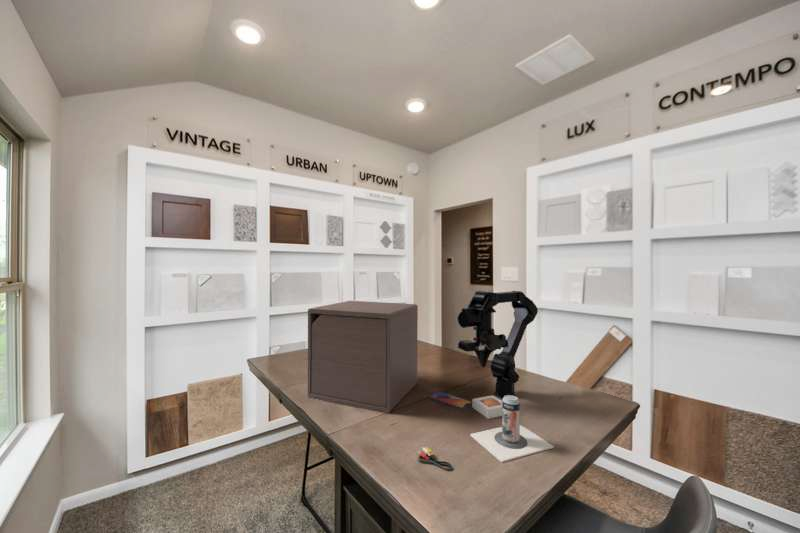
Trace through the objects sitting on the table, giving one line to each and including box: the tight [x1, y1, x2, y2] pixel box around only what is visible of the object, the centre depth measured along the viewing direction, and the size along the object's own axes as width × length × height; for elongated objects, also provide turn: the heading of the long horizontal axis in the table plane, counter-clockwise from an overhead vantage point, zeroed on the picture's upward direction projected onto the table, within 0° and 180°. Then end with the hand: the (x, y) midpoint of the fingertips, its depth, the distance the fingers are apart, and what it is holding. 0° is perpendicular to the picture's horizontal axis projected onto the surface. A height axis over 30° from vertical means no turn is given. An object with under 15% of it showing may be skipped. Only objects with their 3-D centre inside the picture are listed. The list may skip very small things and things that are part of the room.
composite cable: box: [416, 446, 453, 472], centre depth 82 cm, size 10×5×2 cm, turn 43°
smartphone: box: [429, 391, 472, 411], centre depth 119 cm, size 7×15×1 cm, turn 46°
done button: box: [483, 398, 498, 407], centre depth 111 cm, size 5×5×2 cm
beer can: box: [501, 395, 521, 443], centre depth 92 cm, size 5×5×12 cm
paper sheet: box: [469, 424, 555, 463], centre depth 92 cm, size 18×14×1 cm
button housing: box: [471, 395, 502, 420], centre depth 111 cm, size 9×9×3 cm
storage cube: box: [306, 300, 419, 414], centre depth 128 cm, size 34×29×34 cm
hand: (483, 366), depth 118 cm, fingers closed
